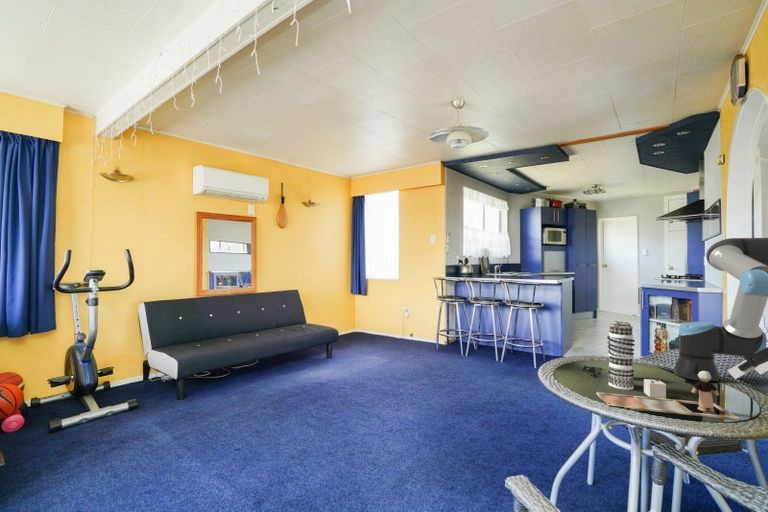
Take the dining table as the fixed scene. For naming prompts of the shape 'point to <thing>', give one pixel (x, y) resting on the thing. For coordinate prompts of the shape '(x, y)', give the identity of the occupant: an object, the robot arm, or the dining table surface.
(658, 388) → the ivory die
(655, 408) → the wooden flat rectangular frame
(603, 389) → the dining table surface
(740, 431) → the dining table surface
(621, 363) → the decorative candle
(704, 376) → the grandmother figurine
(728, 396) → the dining table surface
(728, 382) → the dining table surface
